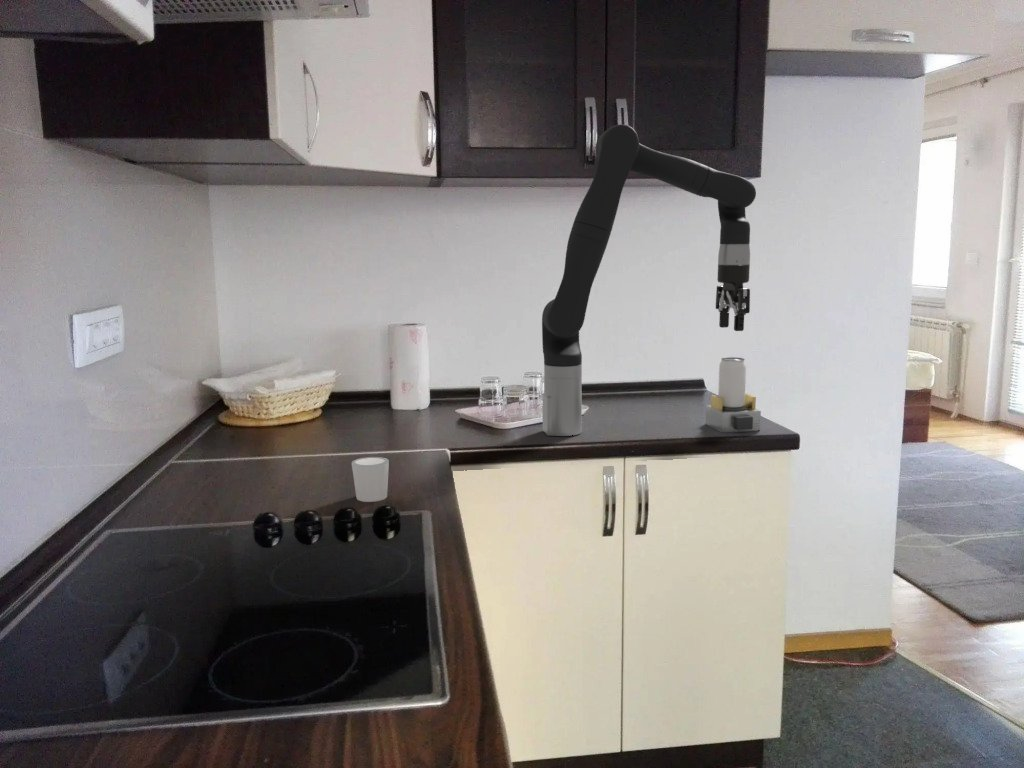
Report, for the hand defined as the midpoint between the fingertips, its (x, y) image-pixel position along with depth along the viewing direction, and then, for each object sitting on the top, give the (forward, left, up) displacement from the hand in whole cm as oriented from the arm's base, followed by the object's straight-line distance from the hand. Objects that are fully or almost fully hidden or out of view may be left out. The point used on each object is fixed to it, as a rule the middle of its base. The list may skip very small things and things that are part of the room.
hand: (731, 329), depth 199 cm
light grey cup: (-89, -40, -25) cm, 101 cm away
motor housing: (+1, -1, -25) cm, 25 cm away
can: (+1, 0, -20) cm, 20 cm away
